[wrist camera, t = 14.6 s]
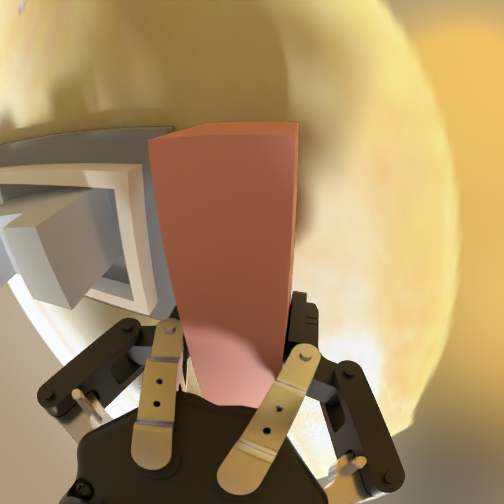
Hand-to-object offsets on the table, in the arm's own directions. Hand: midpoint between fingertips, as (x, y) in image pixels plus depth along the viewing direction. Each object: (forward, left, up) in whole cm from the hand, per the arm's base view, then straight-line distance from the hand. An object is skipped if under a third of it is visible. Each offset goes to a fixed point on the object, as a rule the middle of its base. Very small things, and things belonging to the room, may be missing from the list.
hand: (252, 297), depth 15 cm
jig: (+1, +16, -3) cm, 17 cm away
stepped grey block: (+2, +16, -2) cm, 17 cm away
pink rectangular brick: (0, 0, 0) cm, 0 cm away
